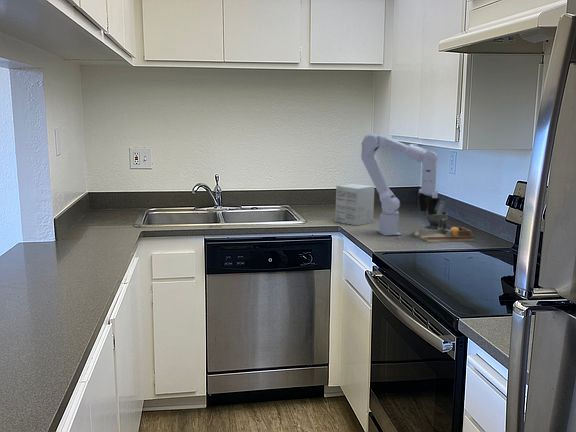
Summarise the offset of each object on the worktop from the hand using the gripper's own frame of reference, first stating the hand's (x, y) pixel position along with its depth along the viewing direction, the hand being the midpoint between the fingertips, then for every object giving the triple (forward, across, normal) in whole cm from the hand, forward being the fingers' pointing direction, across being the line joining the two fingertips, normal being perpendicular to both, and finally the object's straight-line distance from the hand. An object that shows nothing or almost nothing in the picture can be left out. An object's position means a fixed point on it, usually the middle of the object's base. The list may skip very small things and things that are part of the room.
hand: (426, 212), depth 243 cm
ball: (+8, -4, -11) cm, 14 cm away
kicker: (+9, -1, -8) cm, 12 cm away
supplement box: (+10, +35, +21) cm, 42 cm away
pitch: (+10, -2, -7) cm, 13 cm away
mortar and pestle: (+11, +19, -14) cm, 26 cm away
